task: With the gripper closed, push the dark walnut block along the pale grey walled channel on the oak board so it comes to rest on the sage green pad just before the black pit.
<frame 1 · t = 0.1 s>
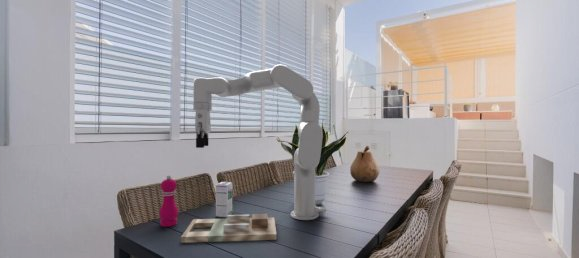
hand: (202, 146, 121), 31 cm above the table, tool pointing down, fingers open, 9 cm apart
walnut block: (259, 225, 109), point 2 cm above the table, touching trap board
syrup box: (224, 215, 127), on the table
trap board: (233, 231, 108), on the table
pepper mill: (168, 224, 115), on the table
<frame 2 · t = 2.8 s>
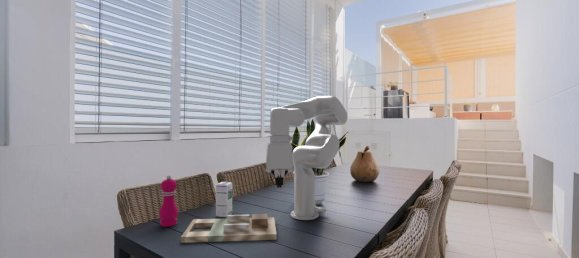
hand: (279, 187, 109), 17 cm above the table, tool pointing down, fingers closed
nothing on the table moved.
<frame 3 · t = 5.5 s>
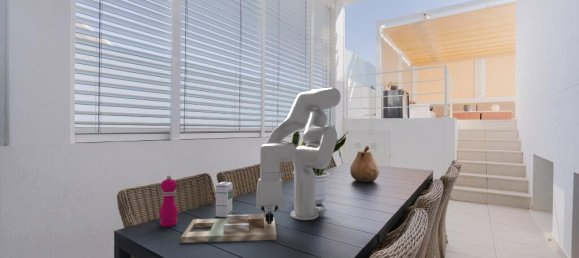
hand: (269, 223, 109), 3 cm above the table, tool pointing down, fingers closed
walnut block: (255, 225, 109), point 2 cm above the table
everything else where it was.
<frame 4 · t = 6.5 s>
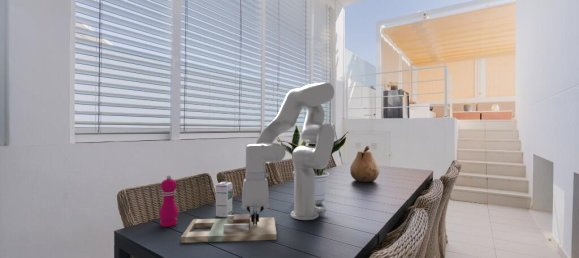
hand: (255, 223, 108), 3 cm above the table, tool pointing down, fingers closed
walnut block: (241, 225, 108), point 2 cm above the table, touching gripper, trap board
everything else where it was.
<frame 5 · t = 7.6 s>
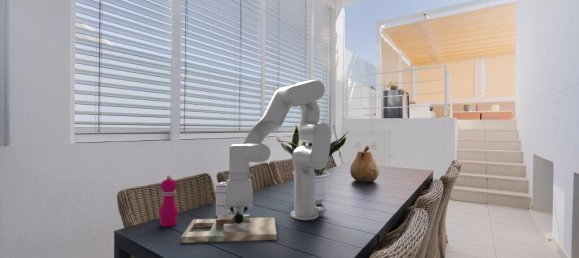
hand: (238, 224, 108), 3 cm above the table, tool pointing down, fingers closed
walnut block: (225, 225, 108), point 2 cm above the table, touching gripper
everything else where it was.
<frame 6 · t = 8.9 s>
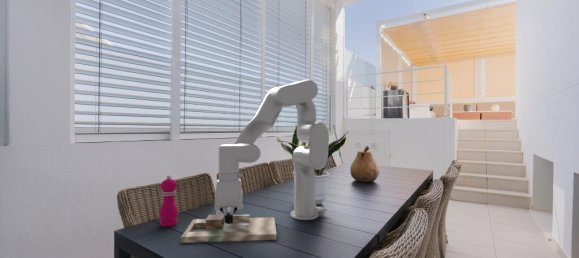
hand: (228, 224, 107), 3 cm above the table, tool pointing down, fingers closed
walnut block: (215, 226, 107), point 2 cm above the table, touching gripper, trap board
everything else where it was.
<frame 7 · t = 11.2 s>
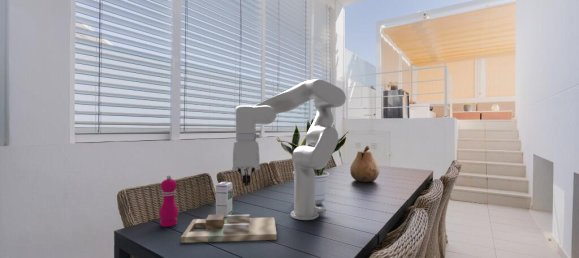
hand: (246, 184, 109), 18 cm above the table, tool pointing down, fingers closed
walnut block: (215, 226, 107), point 2 cm above the table, touching trap board
everything else where it was.
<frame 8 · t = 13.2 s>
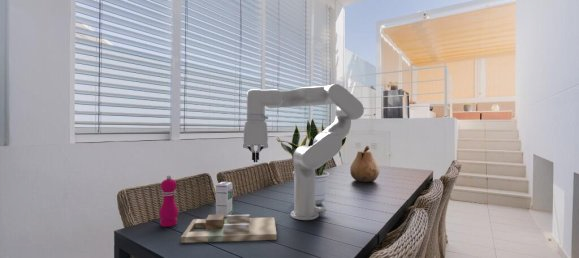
hand: (255, 161, 120), 25 cm above the table, tool pointing down, fingers closed
nothing on the table moved.
at the end: walnut block inside the target area (1.7 cm from its centre), point 2.0 cm above the table; walnut block tilted 0° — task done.
